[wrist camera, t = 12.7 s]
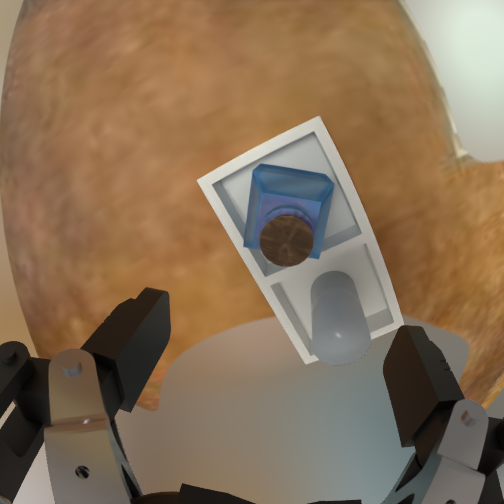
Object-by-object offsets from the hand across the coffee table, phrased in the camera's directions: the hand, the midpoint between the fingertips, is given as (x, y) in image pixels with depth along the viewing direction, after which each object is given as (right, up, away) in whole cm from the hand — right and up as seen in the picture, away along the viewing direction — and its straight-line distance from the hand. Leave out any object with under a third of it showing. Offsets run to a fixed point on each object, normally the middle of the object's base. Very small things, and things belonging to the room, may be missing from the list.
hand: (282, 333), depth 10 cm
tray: (+5, +3, +21) cm, 22 cm away
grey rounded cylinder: (+8, -2, +22) cm, 23 cm away
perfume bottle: (+2, +8, +19) cm, 21 cm away
